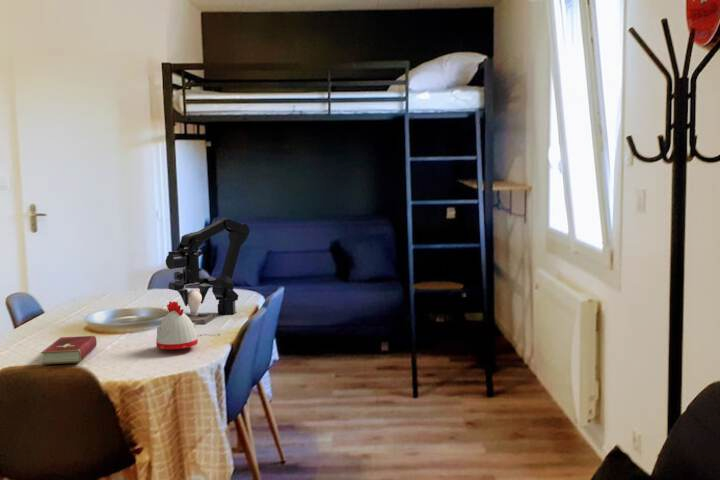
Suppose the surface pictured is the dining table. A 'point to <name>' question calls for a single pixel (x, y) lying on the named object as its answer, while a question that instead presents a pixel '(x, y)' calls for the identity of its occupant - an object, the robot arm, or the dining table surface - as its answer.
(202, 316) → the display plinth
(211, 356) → the dining table surface
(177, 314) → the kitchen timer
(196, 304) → the light bulb
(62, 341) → the hardcover book
